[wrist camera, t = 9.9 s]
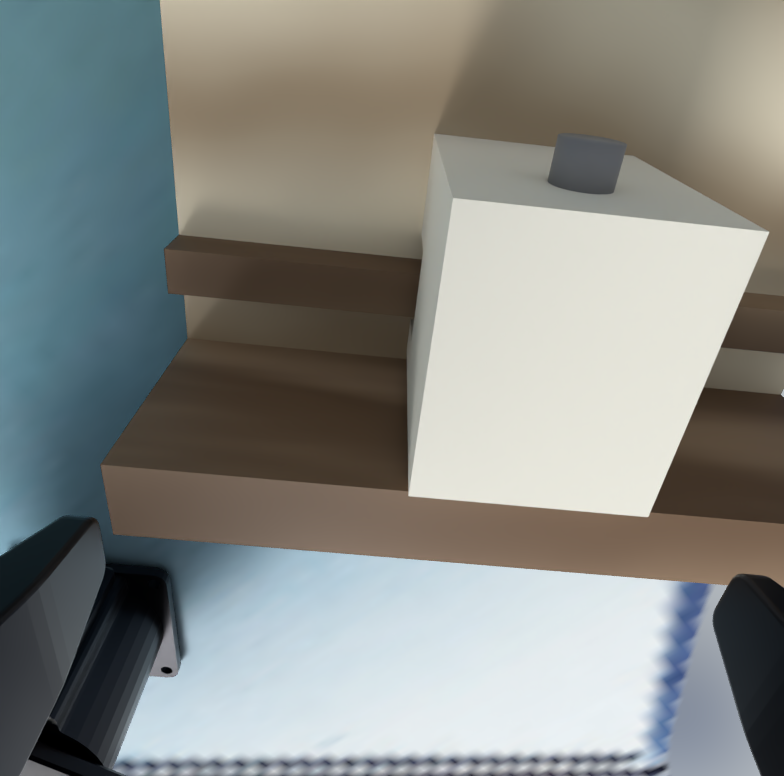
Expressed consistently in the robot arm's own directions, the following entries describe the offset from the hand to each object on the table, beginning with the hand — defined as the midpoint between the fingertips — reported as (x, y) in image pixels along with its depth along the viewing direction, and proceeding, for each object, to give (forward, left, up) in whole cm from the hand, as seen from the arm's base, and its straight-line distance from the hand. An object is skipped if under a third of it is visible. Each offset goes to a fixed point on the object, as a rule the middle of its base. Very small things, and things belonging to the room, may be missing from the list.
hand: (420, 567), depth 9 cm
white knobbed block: (+1, -3, -10) cm, 10 cm away
